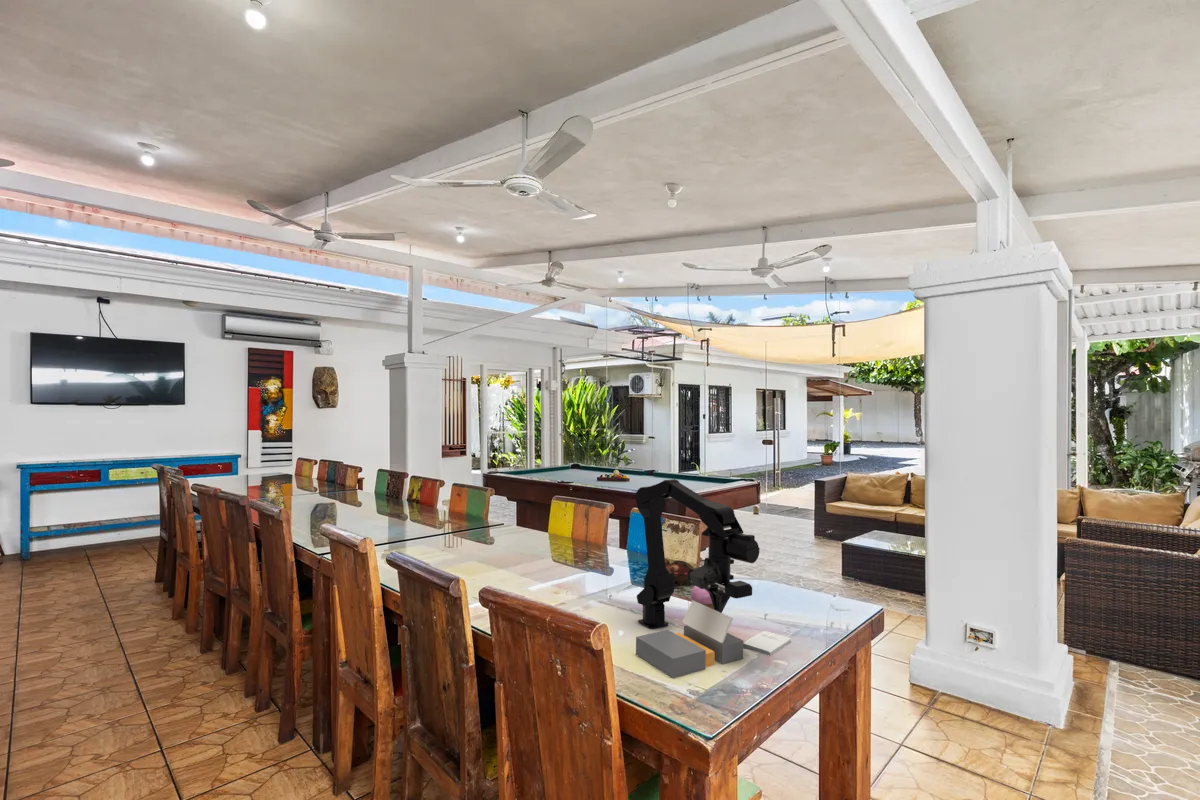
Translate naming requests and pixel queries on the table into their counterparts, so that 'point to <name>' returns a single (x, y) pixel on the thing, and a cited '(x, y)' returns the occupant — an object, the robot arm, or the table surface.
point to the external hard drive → (766, 643)
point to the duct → (685, 650)
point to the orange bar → (709, 653)
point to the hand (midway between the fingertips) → (718, 614)
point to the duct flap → (707, 621)
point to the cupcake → (701, 597)
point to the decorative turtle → (678, 570)
